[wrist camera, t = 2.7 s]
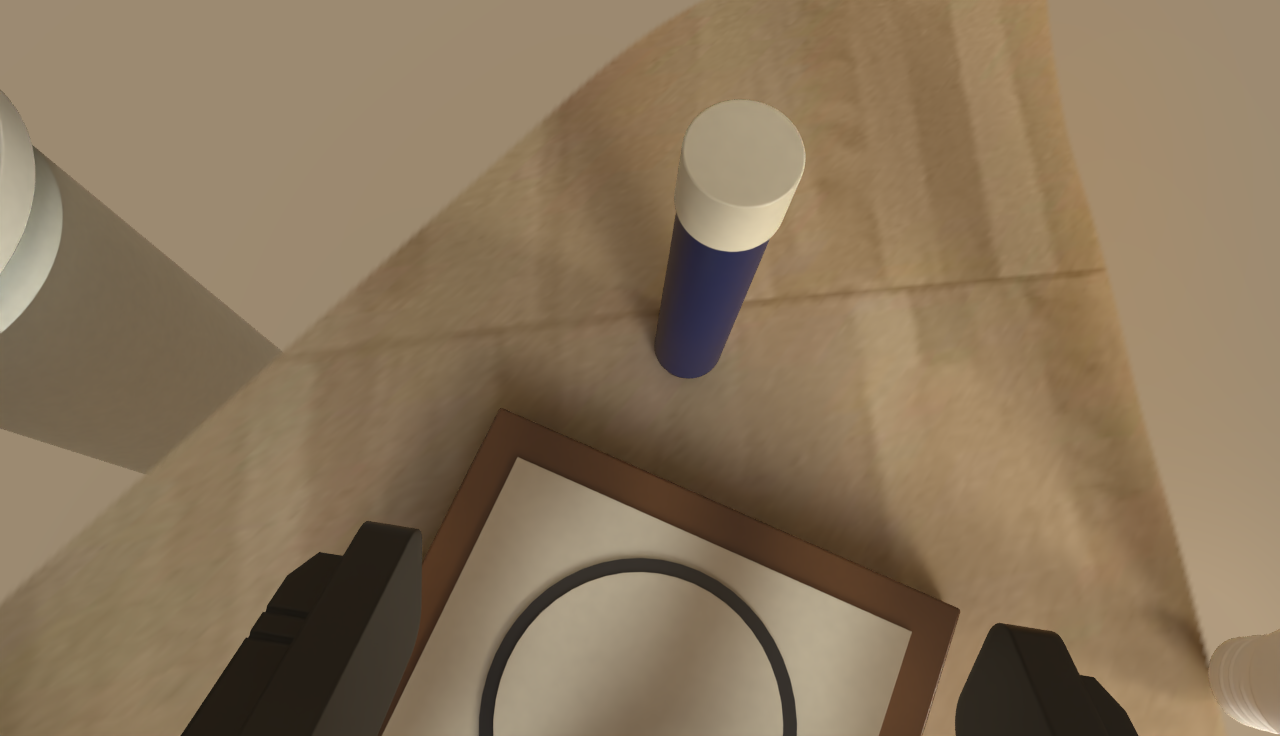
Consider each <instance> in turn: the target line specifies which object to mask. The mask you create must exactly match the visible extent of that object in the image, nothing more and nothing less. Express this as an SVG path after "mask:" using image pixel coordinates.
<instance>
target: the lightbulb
mask: <svg viewBox="0 0 1280 736" xmlns="http://www.w3.org/2000/svg"><path fill="white" fill-rule="evenodd" d="M1209 682H1210V687H1211V690H1212V692H1213V695H1214V697H1215V699H1216V700H1217V702H1218V704H1219V705H1220V706H1221V708H1222V709H1223V710H1224V711H1225V712H1226V713H1227V714H1228V715H1229V716H1230V717H1232V718H1233V719H1234V720H1236V721H1237V722H1239V723H1242V724H1244V725H1246V726H1250V727H1254V728H1256V729H1259V730H1263V731H1268V732H1271V733H1275V734H1280V629H1279V630H1277V631H1275V632H1272V633H1270V634H1269V635H1253V636H1248V637H1237V638H1232V639H1229V640H1227V641H1225V642H1224V643H1222V644H1221V645H1220V646H1219V647H1218V648H1217V649H1216V650H1215V652H1214V653H1213V655H1212V658H1211V660H1210V664H1209Z"/></svg>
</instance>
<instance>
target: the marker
mask: <svg viewBox="0 0 1280 736" xmlns="http://www.w3.org/2000/svg"><path fill="white" fill-rule="evenodd" d="M804 167H805V148H804V144H803V141H802V138H801V136H800V134H799V132H798V130H797V128H796V127H795V126H794V124H793V123H792V122H791V121H790V120H789V119H788V118H787V117H786V116H785V115H784V114H783V113H781V112H780V111H778V110H777V109H775V108H773V107H771V106H769V105H767V104H764V103H761V102H758V101H754V100H746V99H734V100H727V101H723V102H720V103H717V104H714V105H712V106H710V107H709V108H707V109H705V110H704V111H703V112H701V113H700V114H699V115H698V116H697V117H696V118H695V119H694V120H693V121H692V122H691V124H690V125H689V127H688V129H687V130H686V133H685V136H684V139H683V143H682V149H681V155H680V162H679V168H678V175H677V181H676V188H675V196H674V201H675V209H676V216H675V222H674V229H673V235H672V241H671V247H670V253H669V259H668V265H667V271H666V277H665V283H664V289H663V295H662V301H661V307H660V313H659V319H658V325H657V331H656V337H655V345H654V346H655V354H656V356H657V359H658V361H659V362H660V364H661V365H662V366H663V368H664V369H666V370H667V371H668V372H669V373H671V374H673V375H675V376H678V377H681V378H697V377H700V376H702V375H705V374H706V373H708V372H709V371H710V370H712V369H713V368H714V366H715V365H716V364H717V362H718V360H719V358H720V355H721V353H722V351H723V348H724V346H725V344H726V341H727V339H728V336H729V334H730V332H731V329H732V327H733V325H734V322H735V320H736V317H737V315H738V313H739V310H740V308H741V306H742V303H743V301H744V299H745V296H746V294H747V291H748V289H749V287H750V284H751V282H752V280H753V277H754V275H755V272H756V270H757V268H758V265H759V263H760V261H761V258H762V256H763V254H764V251H765V249H766V246H767V244H768V242H769V239H770V238H771V237H772V236H773V235H774V234H775V232H776V231H777V230H778V228H779V227H780V225H781V223H782V221H783V218H784V216H785V214H786V211H787V209H788V207H789V205H790V202H791V200H792V198H793V195H794V193H795V191H796V188H797V186H798V184H799V182H800V179H801V177H802V174H803V171H804Z"/></svg>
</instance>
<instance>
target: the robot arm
mask: <svg viewBox="0 0 1280 736" xmlns="http://www.w3.org/2000/svg"><path fill="white" fill-rule="evenodd" d="M421 601H422V534H421V531H420V530H419V529H415V528H409V527H402V526H396V525H390V524H383V523H377V522H371V521H366V522H365V523H363V525H362V526H361V527H360V529H359V530H358V532H357V534H356V535H355V537H354V539H353V540H352V542H351V544H350V545H349V547H348V549H347V550H346V552H345V554H344V555H343V556H340V555H334V554H327V553H321V552H319V553H318V554H316V555H315V556H313V557H312V558H311V559H309V560H308V561H307V562H305V563H304V564H303V565H301V566H300V567H298V568H297V569H296V570H294V571H293V572H292V573H290V574H289V575H287V577H286V578H285V580H284V581H283V583H282V584H281V586H280V587H279V589H278V590H277V592H276V593H275V595H274V596H273V598H272V599H271V601H270V602H269V604H268V605H267V609H266V612H263V613H262V614H261V616H260V617H259V619H258V620H257V622H256V623H255V625H254V626H253V628H252V629H251V631H250V636H249V638H245V640H244V641H243V643H242V644H241V646H240V647H239V649H238V650H237V652H236V653H235V655H234V656H233V658H232V659H231V661H230V662H229V664H228V665H227V667H226V668H225V670H224V671H223V673H222V674H221V676H220V677H219V679H218V680H217V682H216V683H215V685H214V687H213V688H212V690H211V691H210V693H209V694H208V696H207V697H206V699H205V700H204V702H203V703H202V705H201V706H200V708H199V709H198V711H197V712H196V714H195V715H194V717H193V718H192V720H191V721H190V723H189V724H188V726H187V727H186V729H185V730H184V732H183V733H182V734H181V736H378V733H379V731H380V728H381V726H382V724H383V721H384V719H385V717H386V714H387V712H388V709H389V707H390V705H391V702H392V700H393V698H394V695H395V693H396V690H397V688H398V686H399V683H400V681H401V679H402V676H403V674H404V671H405V669H406V667H407V664H408V662H409V660H410V657H411V654H412V652H413V649H414V646H415V642H416V638H417V634H418V630H419V625H420V618H421ZM955 731H956V736H1138V734H1137V732H1136V730H1135V728H1134V726H1133V724H1132V722H1131V721H1130V719H1129V717H1128V715H1127V713H1126V711H1125V710H1124V709H1123V708H1122V707H1121V706H1120V705H1119V704H1118V703H1117V702H1116V701H1115V699H1114V698H1113V697H1112V696H1111V695H1110V694H1109V693H1108V692H1107V691H1106V690H1105V689H1104V688H1103V687H1102V686H1101V684H1100V683H1099V682H1098V681H1097V680H1096V679H1095V678H1094V677H1089V676H1082V675H1079V673H1078V671H1077V669H1076V667H1075V665H1074V663H1073V660H1072V658H1071V656H1070V654H1069V652H1068V650H1067V648H1066V646H1065V644H1064V642H1063V640H1062V639H1061V637H1060V636H1059V635H1058V634H1056V633H1055V632H1052V631H1047V630H1041V629H1034V628H1028V627H1022V626H1015V625H1009V624H1003V623H997V624H995V625H994V626H993V627H992V628H991V629H990V631H989V633H988V635H987V637H986V639H985V641H984V643H983V646H982V648H981V650H980V652H979V655H978V657H977V659H976V661H975V663H974V666H973V668H972V670H971V672H970V674H969V677H968V679H967V681H966V683H965V685H964V688H963V690H962V692H961V694H960V697H959V700H958V703H957V708H956V716H955Z"/></svg>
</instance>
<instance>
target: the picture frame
mask: <svg viewBox="0 0 1280 736" xmlns="http://www.w3.org/2000/svg"><path fill="white" fill-rule="evenodd" d="M959 614H960V610H959V609H958V608H956V607H954V606H952V605H950V604H947V603H945V602H943V601H941V600H938V599H936V598H934V597H931V596H929V595H927V594H925V593H922V592H920V591H918V590H915V589H913V588H911V587H909V586H906V585H904V584H902V583H899V582H897V581H895V580H893V579H890V578H888V577H886V576H884V575H881V574H879V573H877V572H874V571H872V570H870V569H868V568H865V567H863V566H861V565H858V564H856V563H854V562H852V561H849V560H847V559H845V558H843V557H840V556H838V555H836V554H833V553H831V552H829V551H827V550H824V549H822V548H820V547H817V546H815V545H813V544H811V543H808V542H806V541H804V540H802V539H799V538H797V537H795V536H792V535H790V534H788V533H786V532H783V531H781V530H779V529H776V528H774V527H772V526H770V525H767V524H765V523H763V522H760V521H758V520H756V519H754V518H751V517H749V516H747V515H745V514H742V513H740V512H738V511H735V510H733V509H731V508H729V507H726V506H724V505H722V504H719V503H717V502H715V501H713V500H710V499H708V498H706V497H704V496H701V495H699V494H697V493H694V492H692V491H690V490H688V489H685V488H683V487H681V486H678V485H676V484H674V483H672V482H669V481H667V480H665V479H663V478H660V477H658V476H656V475H653V474H651V473H649V472H647V471H644V470H642V469H640V468H637V467H635V466H633V465H631V464H628V463H626V462H624V461H621V460H619V459H617V458H615V457H612V456H610V455H608V454H606V453H603V452H601V451H599V450H596V449H594V448H592V447H590V446H587V445H585V444H583V443H580V442H578V441H576V440H574V439H571V438H569V437H567V436H565V435H562V434H560V433H558V432H555V431H553V430H551V429H549V428H546V427H544V426H542V425H539V424H537V423H535V422H533V421H530V420H528V419H526V418H524V417H521V416H519V415H517V414H514V413H512V412H510V411H508V410H505V409H503V408H500V409H499V411H498V413H497V415H496V417H495V419H494V421H493V423H492V425H491V427H490V429H489V431H488V433H487V435H486V437H485V439H484V441H483V442H482V444H481V446H480V448H479V450H478V452H477V454H476V456H475V458H474V460H473V462H472V464H471V466H470V468H469V470H468V472H467V474H466V476H465V478H464V480H463V482H462V484H461V486H460V488H459V490H458V492H457V494H456V496H455V498H454V500H453V502H452V504H451V506H450V508H449V510H448V512H447V514H446V516H445V518H444V520H443V522H442V524H441V526H440V528H439V530H438V532H437V534H436V536H435V538H434V540H433V542H432V544H431V546H430V548H429V550H428V552H427V554H426V556H425V558H424V560H423V562H422V601H421V618H420V625H419V630H418V634H417V638H416V642H415V646H414V649H413V652H412V654H411V657H410V660H409V662H408V664H407V667H406V669H405V671H404V674H403V676H402V679H401V681H400V683H399V686H398V688H397V690H396V693H395V695H394V698H393V700H392V702H391V705H390V707H389V709H388V712H387V714H386V717H385V719H384V721H383V724H382V726H381V728H380V731H379V733H378V736H922V735H923V732H924V729H925V725H926V722H927V719H928V716H929V712H930V709H931V706H932V703H933V699H934V696H935V693H936V689H937V686H938V683H939V680H940V676H941V673H942V670H943V667H944V663H945V660H946V657H947V654H948V650H949V647H950V644H951V640H952V637H953V634H954V631H955V627H956V624H957V621H958V618H959Z"/></svg>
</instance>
